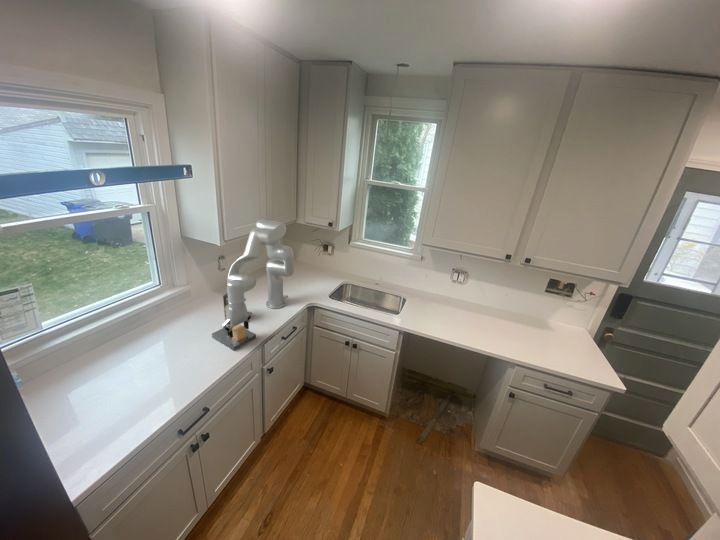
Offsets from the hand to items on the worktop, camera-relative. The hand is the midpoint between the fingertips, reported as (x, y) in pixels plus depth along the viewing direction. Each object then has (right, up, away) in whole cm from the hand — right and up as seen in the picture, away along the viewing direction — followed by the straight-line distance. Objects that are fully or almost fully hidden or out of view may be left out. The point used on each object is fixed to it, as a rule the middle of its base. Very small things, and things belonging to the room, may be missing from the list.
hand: (238, 332), depth 153 cm
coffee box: (-11, +3, +21) cm, 24 cm away
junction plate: (-4, -4, +4) cm, 7 cm away
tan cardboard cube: (0, -3, +1) cm, 3 cm away
